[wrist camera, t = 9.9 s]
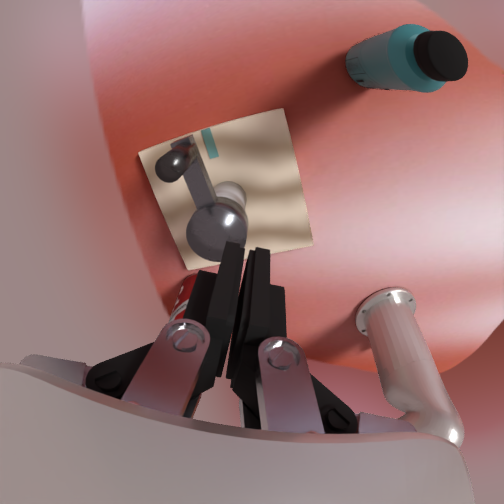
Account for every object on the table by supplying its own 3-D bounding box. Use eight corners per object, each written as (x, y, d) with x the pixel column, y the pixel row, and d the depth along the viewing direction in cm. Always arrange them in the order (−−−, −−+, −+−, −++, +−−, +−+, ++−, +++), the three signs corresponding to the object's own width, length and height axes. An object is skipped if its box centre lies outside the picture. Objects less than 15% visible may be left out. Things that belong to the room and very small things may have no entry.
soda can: (213, 267, 47) (199, 320, 37) (226, 298, 51) (217, 352, 40) (177, 275, 48) (156, 326, 38) (192, 304, 52) (177, 355, 42)
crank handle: (255, 239, 34) (252, 278, 27) (205, 252, 35) (192, 291, 29) (214, 125, 27) (197, 138, 21) (158, 146, 28) (129, 166, 22)
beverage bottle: (339, 84, 31) (409, 87, 14) (341, 38, 27) (410, 1, 11) (385, 92, 31) (479, 111, 14) (387, 48, 27) (482, 33, 10)
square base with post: (312, 240, 43) (320, 273, 36) (190, 265, 47) (177, 299, 40) (282, 107, 33) (286, 113, 26) (142, 150, 37) (114, 167, 30)
